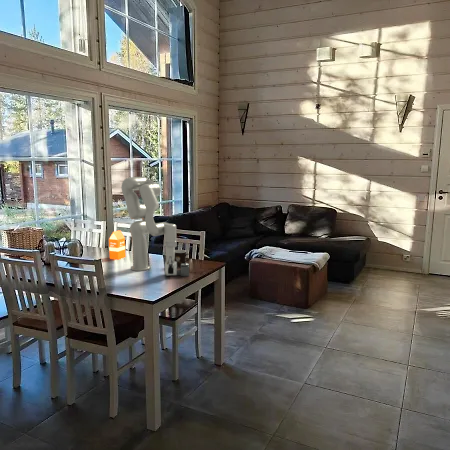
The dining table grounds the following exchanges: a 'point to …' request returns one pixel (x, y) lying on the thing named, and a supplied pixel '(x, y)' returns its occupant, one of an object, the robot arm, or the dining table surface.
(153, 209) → the robot arm
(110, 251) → the orange juice
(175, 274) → the lock
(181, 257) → the coffee mug
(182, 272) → the coupler
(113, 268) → the dining table surface
